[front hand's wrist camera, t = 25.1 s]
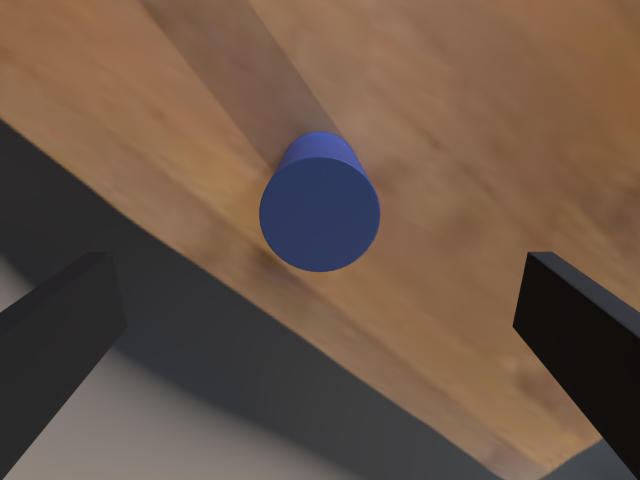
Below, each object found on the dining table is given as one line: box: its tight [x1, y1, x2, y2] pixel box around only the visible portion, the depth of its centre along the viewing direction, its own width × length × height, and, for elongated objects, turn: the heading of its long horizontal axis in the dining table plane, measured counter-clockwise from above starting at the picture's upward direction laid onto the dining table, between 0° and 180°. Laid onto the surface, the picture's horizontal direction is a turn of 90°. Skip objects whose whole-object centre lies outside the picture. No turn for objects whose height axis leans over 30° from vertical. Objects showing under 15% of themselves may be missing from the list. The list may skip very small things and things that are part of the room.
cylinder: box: [259, 132, 380, 272], centre depth 26 cm, size 6×6×12 cm
